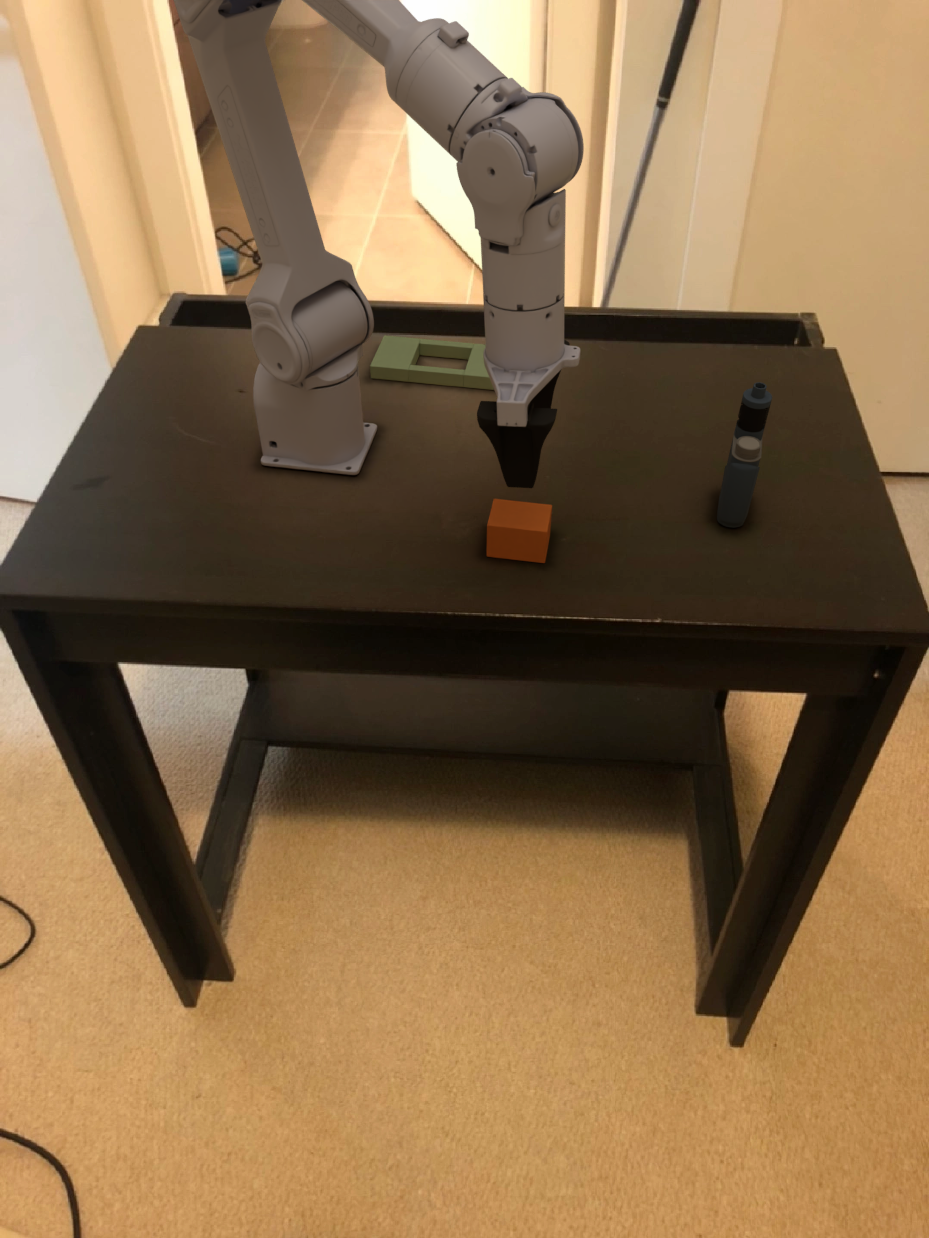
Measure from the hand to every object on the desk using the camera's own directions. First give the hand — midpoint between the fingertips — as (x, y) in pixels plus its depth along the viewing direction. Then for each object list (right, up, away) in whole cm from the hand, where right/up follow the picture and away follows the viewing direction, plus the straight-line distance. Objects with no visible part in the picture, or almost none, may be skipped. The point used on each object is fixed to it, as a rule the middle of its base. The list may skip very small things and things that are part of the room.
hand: (527, 457), depth 78 cm
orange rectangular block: (0, -7, +6) cm, 9 cm away
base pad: (-7, +14, +26) cm, 31 cm away
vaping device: (+19, -3, +10) cm, 21 cm away
